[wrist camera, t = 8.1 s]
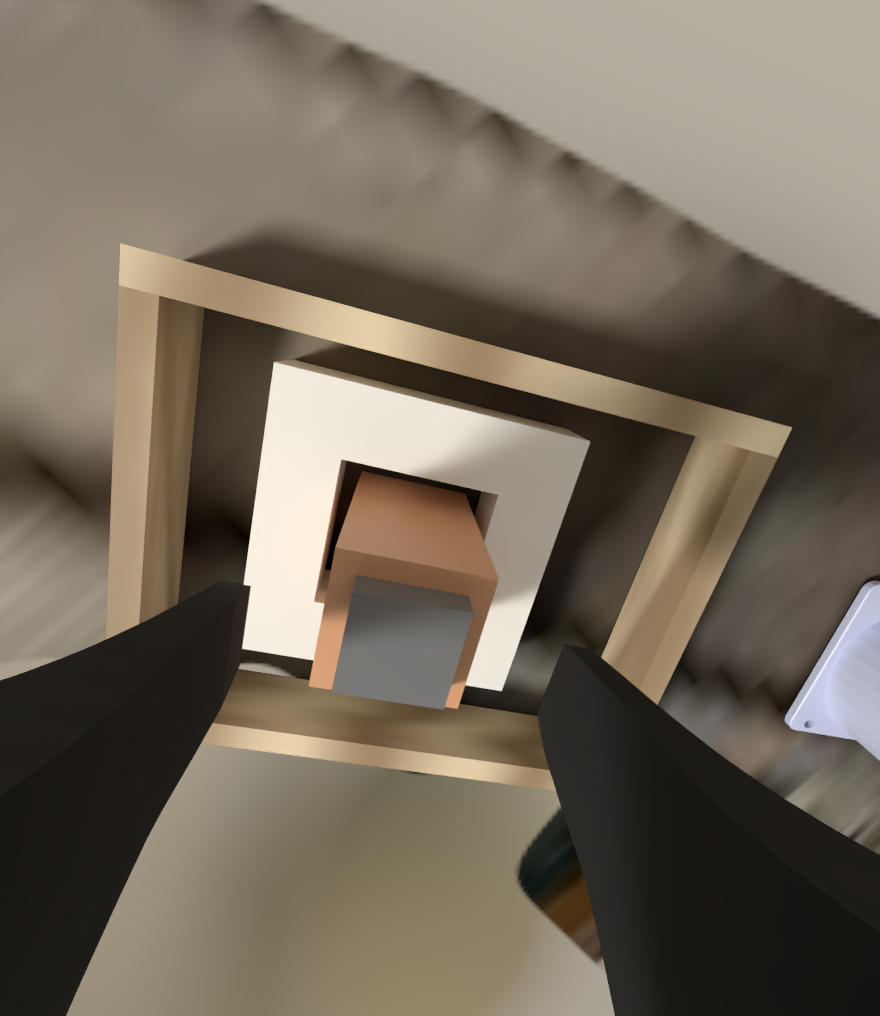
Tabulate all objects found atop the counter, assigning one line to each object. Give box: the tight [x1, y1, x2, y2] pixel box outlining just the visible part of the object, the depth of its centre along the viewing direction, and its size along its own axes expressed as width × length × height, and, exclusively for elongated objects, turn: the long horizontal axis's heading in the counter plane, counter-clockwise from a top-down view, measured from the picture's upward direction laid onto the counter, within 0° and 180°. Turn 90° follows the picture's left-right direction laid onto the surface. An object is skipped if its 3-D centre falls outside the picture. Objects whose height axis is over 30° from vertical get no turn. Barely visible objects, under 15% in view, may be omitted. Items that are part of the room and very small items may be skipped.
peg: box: [309, 471, 499, 710], centre depth 15 cm, size 4×4×8 cm
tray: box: [106, 244, 792, 790], centre depth 17 cm, size 20×16×3 cm
